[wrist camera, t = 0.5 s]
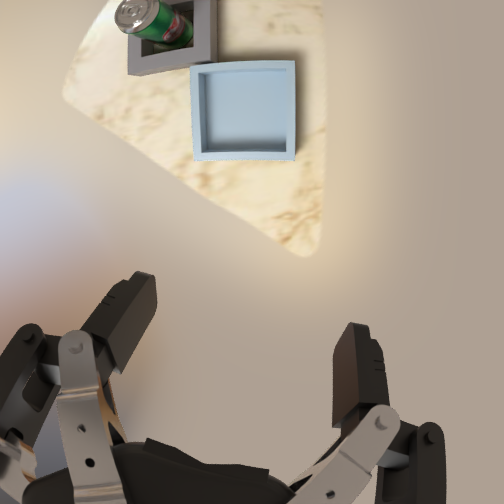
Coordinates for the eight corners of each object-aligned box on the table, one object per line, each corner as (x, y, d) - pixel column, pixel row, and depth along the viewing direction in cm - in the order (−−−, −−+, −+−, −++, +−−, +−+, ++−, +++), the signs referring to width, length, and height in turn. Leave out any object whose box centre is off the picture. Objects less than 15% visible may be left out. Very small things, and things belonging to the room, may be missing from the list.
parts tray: (198, 69, 30) (189, 66, 27) (294, 65, 28) (294, 60, 25) (202, 156, 36) (194, 161, 32) (294, 156, 34) (294, 160, 31)
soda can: (187, 52, 29) (144, 33, 18) (154, 47, 28) (104, 31, 18) (200, 20, 26) (163, -10, 16) (167, 16, 26) (122, -10, 15)
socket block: (141, 10, 25) (129, 4, 22) (217, -6, 24) (210, -15, 21) (140, 76, 31) (127, 74, 28) (217, 64, 29) (210, 59, 26)
